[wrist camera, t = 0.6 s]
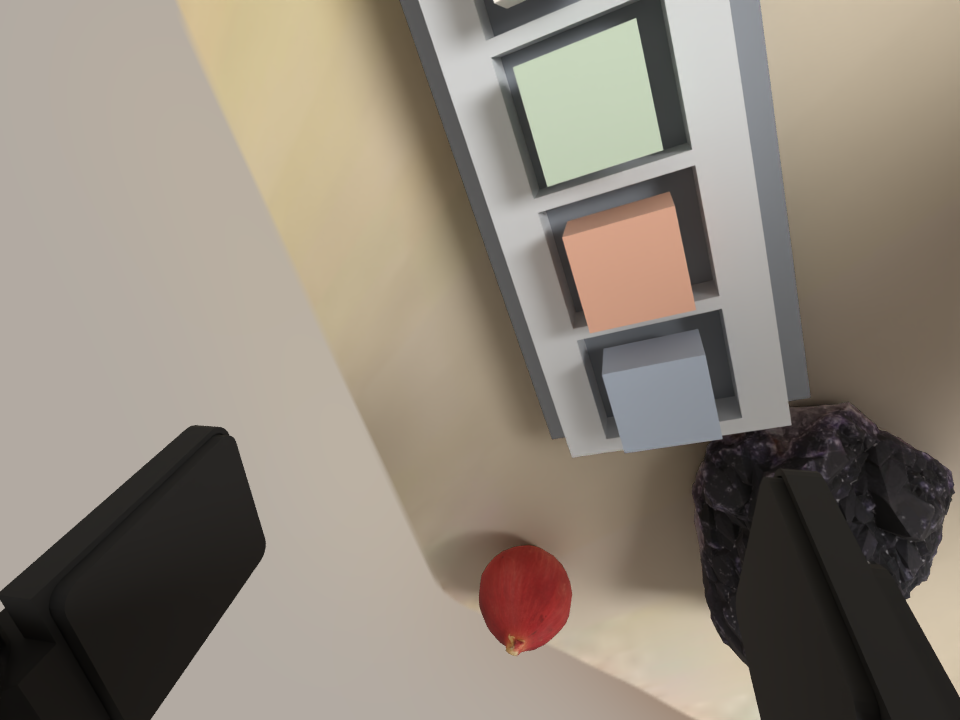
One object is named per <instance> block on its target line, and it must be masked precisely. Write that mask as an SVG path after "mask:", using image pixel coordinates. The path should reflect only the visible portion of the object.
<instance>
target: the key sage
mask: <svg viewBox="0 0 960 720" xmlns="http://www.w3.org/2000/svg"><path fill="white" fill-rule="evenodd" d="M513 70H514V74H515V77H516V80H517V84H518V87H519V91H520V94H521V98H522V101H523V105H524V108H525V111H526V115H527V118H528V122H529V125H530V129H531V132H532V136H533V139H534V142H535V146H536V149H537V153H538V156H539V160H540V163H541V167H542V170H543V173H544V177H545V180H546V184H547V187H549V186H552V185H555V184H558V183H561V182H564V181H568V180H571V179H574V178H577V177H580V176H583V175H586V174H590V173H593V172H596V171H599V170H602V169H605V168H608V167H612V166H615V165H618V164H621V163H624V162H627V161H630V160H634V159H637V158H640V157H643V156H646V155H649V154H652V153H656V152H659V151H662V150H663V146H662V141H661V136H660V131H659V127H658V122H657V117H656V112H655V107H654V102H653V97H652V93H651V88H650V83H649V78H648V73H647V68H646V63H645V59H644V54H643V49H642V44H641V39H640V34H639V29H638V25H637V20H636V18H635V19H632V20H630V21H627V22H625V23H622V24H620V25H617V26H615V27H612V28H610V29H607V30H605V31H602V32H600V33H597V34H595V35H592V36H590V37H587V38H585V39H582V40H580V41H577V42H575V43H572V44H570V45H567V46H565V47H562V48H560V49H557V50H555V51H552V52H550V53H547V54H545V55H542V56H540V57H537V58H535V59H532V60H530V61H527V62H525V63H522V64H520V65H517V66H515V67H513Z"/></svg>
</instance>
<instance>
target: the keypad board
mask: <svg viewBox="0 0 960 720" xmlns="http://www.w3.org/2000/svg"><path fill="white" fill-rule="evenodd" d="M400 3H401V6H402V8H403V11H404V14H405V17H406V20H407V23H408V26H409V29H410V31H411V34H412V37H413V40H414V43H415V46H416V49H417V52H418V54H419V57H420V60H421V63H422V66H423V69H424V72H425V75H426V77H427V80H428V83H429V86H430V89H431V92H432V95H433V98H434V101H435V103H436V106H437V109H438V112H439V115H440V118H441V121H442V124H443V126H444V129H445V132H446V135H447V138H448V141H449V144H450V147H451V149H452V152H453V155H454V158H455V161H456V164H457V167H458V170H459V173H460V175H461V178H462V181H463V184H464V187H465V190H466V193H467V196H468V198H469V201H470V204H471V207H472V210H473V213H474V216H475V219H476V221H477V224H478V227H479V230H480V233H481V236H482V239H483V242H484V245H485V247H486V250H487V253H488V256H489V259H490V262H491V265H492V268H493V270H494V273H495V276H496V279H497V282H498V285H499V288H500V291H501V293H502V296H503V299H504V302H505V305H506V308H507V311H508V314H509V316H510V319H511V322H512V325H513V328H514V331H515V334H516V337H517V340H518V342H519V345H520V348H521V351H522V354H523V357H524V360H525V363H526V365H527V368H528V371H529V374H530V377H531V380H532V383H533V386H534V388H535V391H536V394H537V397H538V400H539V403H540V406H541V409H542V412H543V414H544V417H545V420H546V423H547V426H548V429H549V432H550V435H551V437H552V439H557V438H563V437H565V438H566V441H567V444H568V447H569V450H570V453H571V456H572V458H573V457H580V456H587V455H594V454H600V453H607V452H614V451H621V450H624V449H623V446H622V442H621V439H620V435H619V432H618V428H617V425H616V421H615V418H614V415H613V411H612V408H611V404H610V401H609V397H608V394H607V390H606V387H605V384H604V380H603V377H602V366H603V349H605V348H609V347H614V346H619V345H624V344H628V343H633V342H638V341H643V340H647V339H652V338H657V337H662V336H666V335H671V334H676V333H681V332H685V331H690V330H695V329H698V330H699V334H700V337H701V341H702V344H703V348H704V351H705V355H706V360H707V365H708V370H709V375H710V379H711V384H712V389H713V394H714V399H715V404H716V409H717V413H718V418H719V423H720V428H721V433H722V435H729V434H736V433H742V432H749V431H756V430H763V429H769V428H776V427H783V426H790V425H792V424H791V417H790V410H789V403H788V401H793V400H799V399H805V398H811V396H810V388H809V380H808V373H807V365H806V357H805V349H804V342H803V334H802V326H801V318H800V310H799V303H798V295H797V287H796V279H795V271H794V264H793V256H792V248H791V240H790V232H789V225H788V217H787V209H786V201H785V193H784V186H783V178H782V170H781V162H780V154H779V147H778V139H777V131H776V123H775V116H774V108H773V100H772V92H771V84H770V77H769V69H768V61H767V53H766V45H765V38H764V30H763V22H762V14H761V6H760V0H526V1H523V2H521V3H519V4H517V5H514V6H512V7H510V8H504V7H502V6H499V5H497V4H495V3H494V1H493V0H400ZM635 18H636V20H637V25H638V29H639V34H640V39H641V44H642V49H643V54H644V59H645V63H646V68H647V73H648V78H649V83H650V88H651V93H652V97H653V102H654V107H655V112H656V117H657V122H658V127H659V131H660V136H661V141H662V146H663V150H662V151H659V152H656V153H652V154H649V155H646V156H643V157H640V158H637V159H634V160H630V161H627V162H624V163H621V164H618V165H615V166H612V167H608V168H605V169H602V170H599V171H596V172H593V173H590V174H586V175H583V176H580V177H577V178H574V179H571V180H568V181H564V182H561V183H558V184H555V185H552V186H549V187H547V184H546V180H545V177H544V173H543V170H542V167H541V163H540V160H539V156H538V153H537V149H536V146H535V142H534V139H533V136H532V132H531V129H530V125H529V122H528V118H527V115H526V111H525V108H524V105H523V101H522V98H521V94H520V91H519V87H518V84H517V80H516V77H515V74H514V70H513V67H515V66H517V65H520V64H522V63H525V62H527V61H530V60H532V59H535V58H537V57H540V56H542V55H545V54H547V53H550V52H552V51H555V50H557V49H560V48H562V47H565V46H567V45H570V44H572V43H575V42H577V41H580V40H582V39H585V38H587V37H590V36H592V35H595V34H597V33H600V32H602V31H605V30H607V29H610V28H612V27H615V26H617V25H620V24H622V23H625V22H627V21H630V20H632V19H635ZM669 191H670V194H671V197H672V199H673V202H674V205H675V209H676V214H677V219H678V224H679V229H680V234H681V238H682V243H683V248H684V253H685V258H686V263H687V268H688V272H689V277H690V282H691V287H692V292H693V297H694V302H695V307H696V310H694V311H690V312H685V313H681V314H676V315H671V316H667V317H662V318H658V319H653V320H649V321H644V322H640V323H635V324H631V325H626V326H622V327H617V328H613V329H608V330H604V331H599V332H595V333H590V332H589V328H588V325H587V322H586V318H585V315H584V311H583V308H582V304H581V301H580V297H579V294H578V291H577V287H576V284H575V280H574V277H573V273H572V270H571V266H570V263H569V260H568V256H567V253H566V249H565V246H564V242H563V239H562V237H563V233H564V230H565V227H566V224H567V221H570V220H574V219H577V218H581V217H584V216H587V215H591V214H594V213H598V212H601V211H604V210H608V209H611V208H615V207H618V206H621V205H625V204H628V203H632V202H635V201H639V200H642V199H645V198H649V197H652V196H656V195H659V194H662V193H666V192H669Z"/></svg>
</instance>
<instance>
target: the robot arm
mask: <svg viewBox="0 0 960 720" xmlns="http://www.w3.org/2000/svg"><path fill="white" fill-rule="evenodd" d="M265 547H266V541H265V537H264V534H263V530H262V527H261V524H260V520H259V517H258V514H257V510H256V507H255V504H254V500H253V497H252V494H251V490H250V487H249V484H248V480H247V477H246V474H245V470H244V467H243V464H242V460H241V457H240V454H239V451H238V447H237V444H236V441H235V439H234V438H233V437H232V436H229V434H228V432H227V431H226V430H225V429H224V428H221V427H211V426H198V425H195V426H190V427H189V428H187V429H186V430H185V431H183V432H182V433H181V434H180V435H179V436H178V437H177V438H175V439H174V440H173V441H172V442H171V443H170V444H168V445H167V446H166V447H165V448H164V449H163V450H162V451H160V452H159V453H158V454H157V455H156V456H155V457H154V458H152V459H151V460H150V461H149V462H148V463H147V464H146V465H144V466H143V467H142V468H141V469H140V470H139V471H138V472H137V473H135V474H134V475H133V476H132V477H131V478H130V479H129V480H127V481H126V482H125V483H124V484H123V485H122V486H120V487H119V488H118V489H117V490H116V491H115V492H114V493H112V494H111V495H110V496H109V497H108V498H107V499H106V500H104V501H103V502H102V503H101V504H100V505H99V506H98V507H96V508H95V509H94V510H93V511H92V512H91V513H90V514H88V515H87V516H86V517H85V518H84V519H83V520H82V521H80V522H79V523H78V524H77V525H76V526H75V527H74V528H72V529H71V530H70V531H69V532H68V533H67V534H66V535H64V536H63V537H62V538H61V539H60V540H59V541H58V542H56V543H55V544H54V545H53V546H52V547H51V548H50V549H48V550H47V551H46V552H45V553H44V554H43V555H41V557H39V558H38V559H37V560H36V561H35V562H33V564H31V565H30V566H29V567H28V568H27V569H26V570H24V571H23V572H22V573H21V574H20V575H19V576H17V578H15V579H14V580H13V581H12V582H11V583H10V584H8V585H7V586H6V587H5V588H4V589H3V590H2V591H0V600H1V602H2V603H3V605H4V607H5V609H3V610H2V611H1V612H0V720H151V718H152V717H153V715H154V714H155V712H156V711H157V710H158V708H159V706H160V705H161V704H162V702H163V701H164V699H165V698H166V697H167V695H168V694H169V692H170V691H171V689H172V688H173V686H174V685H175V683H176V682H177V681H178V679H179V678H180V676H181V675H182V673H183V672H184V670H185V669H186V668H187V666H188V665H189V663H190V662H191V660H192V659H193V657H194V656H195V655H196V653H197V652H198V650H199V649H200V647H201V646H202V645H203V643H204V642H205V640H206V639H207V637H208V636H209V634H210V633H211V632H212V630H213V629H214V627H215V626H216V624H217V623H218V621H219V620H220V618H221V617H222V615H223V614H224V613H225V611H226V610H227V608H228V607H229V605H230V604H231V603H232V601H233V600H234V598H235V597H236V596H237V594H238V592H239V591H240V590H241V588H242V587H243V585H244V584H245V583H246V581H247V580H248V578H249V577H250V575H251V573H252V572H253V570H254V569H255V568H256V567H257V565H258V564H259V562H260V561H261V559H262V557H263V555H264V552H265ZM736 614H737V620H738V624H739V628H740V633H741V637H742V641H743V645H744V650H745V654H746V658H747V662H748V667H749V671H750V675H751V679H752V684H753V688H754V692H755V696H756V701H757V705H758V709H759V713H760V718H761V720H960V697H959V695H958V693H957V692H956V690H955V688H954V686H953V684H952V683H951V681H950V679H949V677H948V675H947V674H946V672H945V670H944V668H943V666H942V665H941V663H940V661H939V659H938V657H937V656H936V654H935V652H934V650H933V649H932V647H931V645H930V643H929V641H928V640H927V638H926V636H925V634H924V632H923V631H922V629H921V627H920V625H919V623H918V622H917V620H916V618H915V616H914V614H913V613H912V611H911V609H910V607H909V605H908V604H907V602H906V600H905V598H904V596H903V595H902V593H901V591H900V589H899V587H898V586H897V584H896V582H895V580H894V579H893V577H892V576H891V574H890V573H889V572H888V570H887V569H885V568H884V567H883V566H881V565H878V564H868V562H867V560H866V558H865V556H864V554H863V552H862V550H861V548H860V547H859V545H858V543H857V541H856V539H855V537H854V535H853V533H852V531H851V529H850V527H849V526H848V524H847V522H846V520H845V518H844V516H843V514H842V512H841V510H840V508H839V506H838V505H837V503H836V501H835V499H834V497H833V495H832V493H831V491H830V489H829V487H828V485H827V483H826V482H825V480H824V478H823V476H822V475H821V474H820V473H819V472H817V471H806V470H792V469H777V471H776V472H775V474H774V477H763V479H762V481H761V484H760V489H759V493H758V498H757V502H756V507H755V512H754V516H753V521H752V525H751V530H750V534H749V539H748V543H747V548H746V553H745V557H744V562H743V566H742V571H741V575H740V580H739V584H738V589H737V594H736Z"/></svg>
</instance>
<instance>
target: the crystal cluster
mask: <svg viewBox="0 0 960 720" xmlns="http://www.w3.org/2000/svg"><path fill="white" fill-rule="evenodd" d="M789 410H790V417H791V424H792V425H790V426H783V427H776V428H769V429H763V430H756V431H749V432H742V433H736V434H729V435H722V438H723V439H720V440H713V441H711V442H710V443H709V445H708V446H707V449H706V454H705V458H704V461H703V462H702V463H701V465H700V468H699V470H698V472H697V474H696V481H695V483H694V484H693V486H692V495H693V499H694V503H695V514H694V522H695V527H696V531H697V536H698V541H699V547H700V555H701V563H702V572H703V584H704V588H705V597H706V601H707V604H708V607H709V609H710V611H711V620H712V622H713V624H714V626H715V628H716V630H717V632H718V634H719V635H720V637H721V639H722V641H723V643H725V644H726V645H728V646H729V647H730V648H731V649H732V650H733V651H734V652H735V653H736V655H737V656H738V657H739V658H740V659H741V660H742V661H743V662H744V663H745V664H746V665H747V666H748V662H747V658H746V654H745V650H744V645H743V641H742V637H741V633H740V628H739V624H738V620H737V614H736V594H737V589H738V584H739V580H740V575H741V571H742V566H743V562H744V557H745V553H746V548H747V543H748V539H749V534H750V530H751V525H752V521H753V516H754V512H755V507H756V502H757V498H758V493H759V489H760V484H761V481H762V479H763V477H774V474H775V472H776V471H777V469H792V470H806V471H817V472H819V473H820V474H821V475H822V476H823V478H824V480H825V482H826V483H827V485H828V487H829V489H830V491H831V493H832V495H833V497H834V499H835V501H836V503H837V505H838V506H839V508H840V510H841V512H842V514H843V516H844V518H845V520H846V522H847V524H848V526H849V527H850V529H851V531H852V533H853V535H854V537H855V539H856V541H857V543H858V545H859V547H860V548H861V550H862V552H863V554H864V556H865V558H866V560H867V562H868V564H878V565H881V566H883V567H884V568H885V569H887V570H888V572H889V573H890V574H891V576H892V577H893V579H894V580H895V582H896V584H897V586H898V587H899V589H900V591H901V593H902V595H903V596H904V598H905V600H906V599H908V598H910V592H911V591H912V590H913V589H914V588H915V587H916V586H918V585H920V584H921V582H923V581H927V579H928V576H929V575H930V568H931V566H932V560H933V557H934V556H935V555H936V554H937V548H938V546H939V544H940V542H941V540H942V527H943V526H942V524H943V521H944V517H945V515H947V512H948V509H949V505H950V502H951V501H952V498H951V497H952V495H953V494H954V493H955V492H954V489H953V486H954V483H953V478H952V472H951V471H950V470H949V469H948V468H946V467H945V466H943V465H942V464H941V463H939V461H938V460H936V459H934V458H932V457H931V456H930V455H929V454H927V453H925V452H922V451H919V450H916V449H915V448H913V447H912V446H911V445H910V444H908V443H906V442H904V441H903V440H902V439H900V438H899V437H896V436H893V435H892V434H890V433H888V432H886V431H881V430H879V429H878V428H877V426H876V424H875V423H873V422H872V421H871V420H869V419H868V418H867V417H866V416H865V415H863V414H862V413H861V412H860V411H859V410H858V409H857V408H856V407H855V406H854V405H852V404H851V403H849V402H845V403H841V404H836V405H819V406H811V407H789Z"/></svg>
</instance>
